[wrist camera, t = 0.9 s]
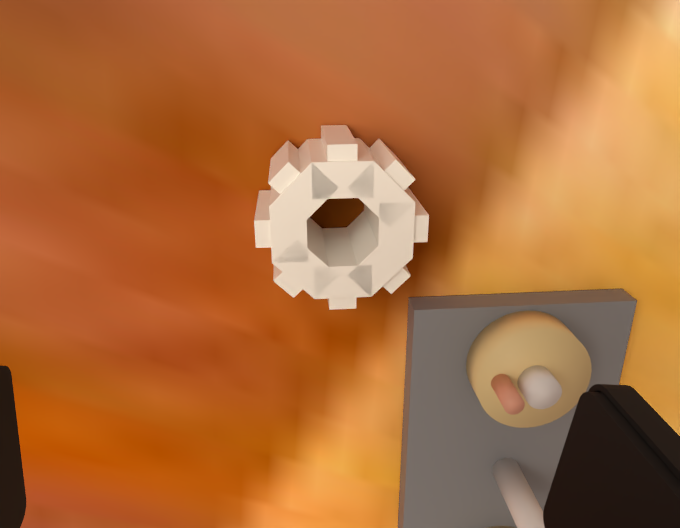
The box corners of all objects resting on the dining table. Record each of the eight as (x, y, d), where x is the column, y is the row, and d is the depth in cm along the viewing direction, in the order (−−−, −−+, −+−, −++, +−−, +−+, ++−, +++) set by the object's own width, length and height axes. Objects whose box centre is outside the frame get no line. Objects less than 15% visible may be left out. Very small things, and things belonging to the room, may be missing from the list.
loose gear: (409, 123, 27) (434, 143, 23) (403, 264, 30) (424, 307, 26) (255, 125, 27) (249, 147, 22) (264, 269, 30) (259, 314, 25)
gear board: (621, 288, 32) (714, 361, 25) (564, 569, 40) (621, 682, 34) (408, 297, 31) (443, 375, 24) (395, 582, 39) (418, 701, 33)
